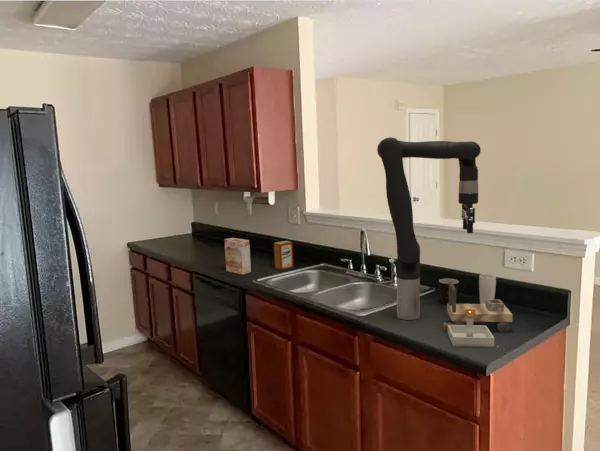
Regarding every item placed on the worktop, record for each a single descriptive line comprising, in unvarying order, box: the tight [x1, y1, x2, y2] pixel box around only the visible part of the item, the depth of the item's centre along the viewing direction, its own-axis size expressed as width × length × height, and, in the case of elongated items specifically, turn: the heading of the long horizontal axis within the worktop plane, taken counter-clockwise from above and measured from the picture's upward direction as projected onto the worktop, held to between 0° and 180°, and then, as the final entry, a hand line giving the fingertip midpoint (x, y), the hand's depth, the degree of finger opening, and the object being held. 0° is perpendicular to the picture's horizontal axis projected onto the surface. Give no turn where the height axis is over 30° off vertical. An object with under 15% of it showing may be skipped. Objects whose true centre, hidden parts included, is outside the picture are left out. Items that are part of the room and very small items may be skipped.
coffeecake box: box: [223, 237, 252, 275], centre depth 286 cm, size 15×7×20 cm, turn 49°
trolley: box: [446, 282, 514, 334], centre depth 188 cm, size 22×12×17 cm, turn 82°
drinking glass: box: [478, 273, 497, 304], centre depth 207 cm, size 7×7×15 cm
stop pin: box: [465, 309, 475, 337], centre depth 176 cm, size 4×4×10 cm
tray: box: [446, 324, 495, 348], centre depth 176 cm, size 14×12×4 cm
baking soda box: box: [273, 240, 294, 271], centre depth 292 cm, size 10×6×16 cm
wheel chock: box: [442, 322, 454, 333], centre depth 186 cm, size 4×3×3 cm
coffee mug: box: [438, 278, 466, 305], centre depth 217 cm, size 12×9×10 cm
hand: (467, 231), depth 196 cm, fingers open, 8 cm apart
